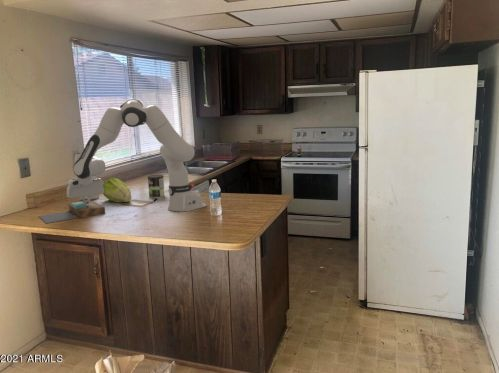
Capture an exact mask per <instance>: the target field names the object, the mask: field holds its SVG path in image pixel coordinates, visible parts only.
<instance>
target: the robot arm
mask: <svg viewBox="0 0 499 373" xmlns="http://www.w3.org/2000/svg"><path fill="white" fill-rule="evenodd" d="M119 106H120V107H119V108H117V107H115V106H114V107H111V106H110V107H108V108H107V109H106V110H105V112H104V114H103V116H102V118H101V119H100V122H99V125H98V127H97V128H96V130H95V131H94V133H93V134H92V135H91V137H89V139H88V141H87V142H86V144H85V146H84V148H83V150H82V152H77V153H75V155H74V164H73V166H72V168H73V169H72V171H73V173H74V175H75V177H74V178H71V179H69V180H68V181H67V184H68V185H67V187H66V198H68V199H77V198H81V200H82V202H84V203H86V204H89V203H90V201H91V200H90V199H91V196H92V195H99V196H100V195H103V193H104V188H103V184H104V180H103V179H102V178H97V179H93V177H92V176H95V175H96V176H99V175H102V174H103V173H105V171H106V162H105V161H104V160H103V159H102V158H100V157H96V153H97V152H98V151H99V150H101V148H103V147H104V146H108V145H110V144H112V143H114V142H116V140H117V138H118V136H119V135H120V133H121V130H122V127H123V126H124V124H125V125H126V126H127V127H129V128H136V127H139V126H143V125H145V124H146V125H147V127H148V128H149V130H150V131H151V133H152V134H153V136H154V138H155V139H156V140H157V141H158V143H160V144H161V146H160V148H159V153H160V156H161V158H163V160H164V162H165V165H166V166H165V167H166V168H167V173H168V183H169V185H168V195H169V200H168V201H169V202H168V206H167V210H168V211H173V212H190V211H193V210H197V209H201V208H205V207H207V204H206V203H205V202H203V199H202V196H201V195H199V194H198V193H197V192H196V191H194V190H193V189H194V188H195V185H194V184H190V183H189V172H188V171H189V170H188V169H187V168H186V167H185V165H184V163H185V162H190V161H191V160H193V159H194V157H195V149H194V148H195V147H193V145H191V144H190V143H188V142H187V141H186V140H185V139H184V138H183V137H182V136H181V135H180V134H179V133H178V132H177V131H176V130H175V128H174V127H173V126H172V124H171V123H170V121H169V119H168V118H167V117H166V115H165V113H164V112H163V111H162V110H161V109H160V107H159V106H157V105H155V104H153V105H152V104H151V105H148V106H147V107H145V106H144V105H143V103H142V101H140V100H139V99H137V98H130V99H128V100H126V101H125V102H124V103H122V104H121V105H119ZM97 180H98V181H97ZM85 196H88V197H89V198H88V199H84V198H85Z"/></svg>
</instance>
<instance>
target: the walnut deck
mask: <svg viewBox="0 0 499 373" xmlns="http://www.w3.org/2000/svg"><path fill="white" fill-rule="evenodd" d="M68 211H69V212H70V213H72V214H73V215H74V216H76V217H77V218H79V219H83V218H90V217H95V216H100V215H101V216H102V215H106V207H105V206H104V205H101V204H100V203H98V202H96V201H94V200H90V203H89V204H87V207H86V208H80V209H75V208H73V207H72V206H71V203H69V204H68Z"/></svg>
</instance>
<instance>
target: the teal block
mask: <svg viewBox="0 0 499 373" xmlns="http://www.w3.org/2000/svg"><path fill="white" fill-rule="evenodd" d="M70 204H71V206H72V207H73V208H75V209H80V208H86V207H87V204H86V203H84V201H83V200H82V201H76V202H71V203H70Z"/></svg>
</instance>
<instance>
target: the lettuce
mask: <svg viewBox="0 0 499 373" xmlns="http://www.w3.org/2000/svg"><path fill="white" fill-rule="evenodd" d="M103 188H104V193H103V194H102V195H103V196H104V197H105V198H106V199H108V200H109V201H110V202H114V203H128V202H130V201H131V200H132V192H131V189H130V188H129V185H127V184H126V183H125V182H124V181H123V180H121V179H119V178H117V177H110V178H108V179H107V180H106V181H105V182H104V181H103Z"/></svg>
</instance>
